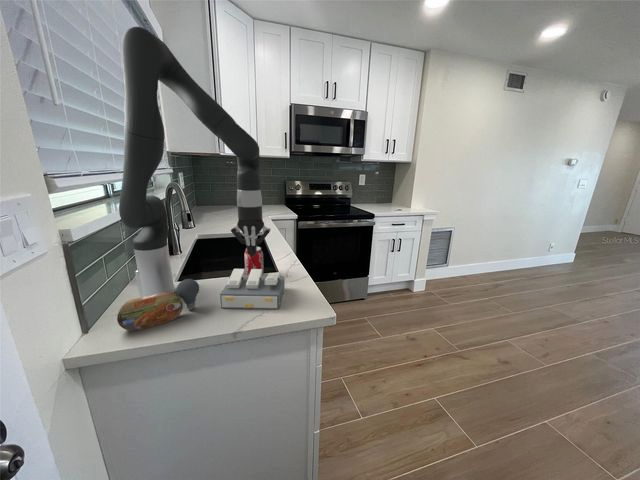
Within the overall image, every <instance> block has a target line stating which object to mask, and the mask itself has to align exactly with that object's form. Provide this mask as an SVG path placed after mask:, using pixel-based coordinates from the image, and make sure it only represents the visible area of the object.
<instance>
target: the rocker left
mask: <svg viewBox="0 0 640 480" xmlns="http://www.w3.org/2000/svg"><path fill="white" fill-rule="evenodd" d="M244 275H246V273H245V268H233V270H232V272H231V275H230V276H229V277H228V280H227V282H226V285H227V288H239V287H240V284H241V282H242V280H243V277H244Z"/></svg>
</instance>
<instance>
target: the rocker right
mask: <svg viewBox="0 0 640 480" xmlns="http://www.w3.org/2000/svg"><path fill="white" fill-rule="evenodd" d="M280 276H281V274H280V273H276V272H275V273H274V272H271V273H268V276H267V277H266V279H265V285H276V284H277V282H278V281H279V278H280Z"/></svg>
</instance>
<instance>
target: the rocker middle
mask: <svg viewBox="0 0 640 480" xmlns="http://www.w3.org/2000/svg"><path fill="white" fill-rule="evenodd" d="M261 276H262V269H251V272H250V275H249V277H248V278H247V283H246V289H258V286H259V283H260V280H261Z"/></svg>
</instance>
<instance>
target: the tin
mask: <svg viewBox="0 0 640 480" xmlns="http://www.w3.org/2000/svg"><path fill="white" fill-rule="evenodd" d="M183 309H184V302H183V301H182V298H181V297H180V296H179V295H178V294H177V293H175V292H174V293H172V292H163V293H159V294H154V295H150V296H146V297H141V298H140V297H138V298H133V299H130V300H129V301H126V302H125V303H124V304H123V305H121V307H120V309H119V311H118V313H117V316H116V320H117V324H118V325H119V326H120V328H122V329H124V330H126V331H129V332H130V331H131V332H136V331H141V330H145V329H148V328H151V327H156V326H157V325H162V324H165V323H169V322H172V321H173V320H175V319H177V318H178V317H179V316H180V315H181V313H182V311H183ZM144 328H145V329H144Z"/></svg>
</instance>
